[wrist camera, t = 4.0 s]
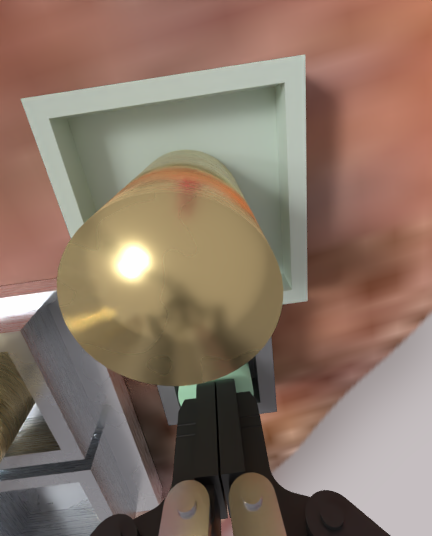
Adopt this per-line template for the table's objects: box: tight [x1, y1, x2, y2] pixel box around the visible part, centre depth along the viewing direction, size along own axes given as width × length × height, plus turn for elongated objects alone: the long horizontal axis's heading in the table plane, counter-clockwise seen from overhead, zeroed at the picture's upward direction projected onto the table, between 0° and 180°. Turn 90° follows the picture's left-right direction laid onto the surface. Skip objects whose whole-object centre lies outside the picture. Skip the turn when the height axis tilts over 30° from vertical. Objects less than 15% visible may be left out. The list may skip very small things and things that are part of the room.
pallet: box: [0, 278, 162, 536], centre depth 16 cm, size 16×10×3 cm, turn 8°
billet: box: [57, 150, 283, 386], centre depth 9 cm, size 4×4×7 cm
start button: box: [178, 363, 254, 406], centre depth 13 cm, size 3×3×2 cm
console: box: [157, 337, 277, 425], centre depth 14 cm, size 5×5×2 cm
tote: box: [21, 55, 308, 305], centre depth 12 cm, size 8×8×2 cm
